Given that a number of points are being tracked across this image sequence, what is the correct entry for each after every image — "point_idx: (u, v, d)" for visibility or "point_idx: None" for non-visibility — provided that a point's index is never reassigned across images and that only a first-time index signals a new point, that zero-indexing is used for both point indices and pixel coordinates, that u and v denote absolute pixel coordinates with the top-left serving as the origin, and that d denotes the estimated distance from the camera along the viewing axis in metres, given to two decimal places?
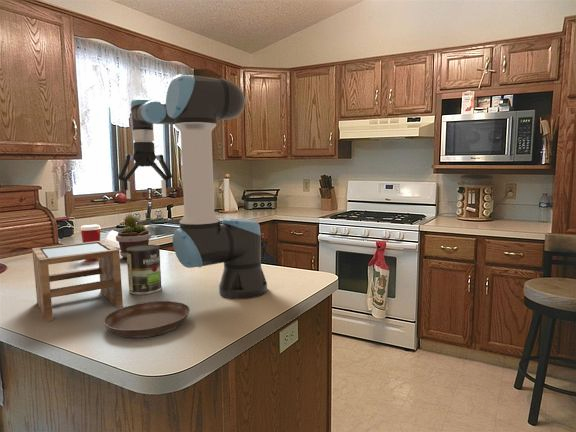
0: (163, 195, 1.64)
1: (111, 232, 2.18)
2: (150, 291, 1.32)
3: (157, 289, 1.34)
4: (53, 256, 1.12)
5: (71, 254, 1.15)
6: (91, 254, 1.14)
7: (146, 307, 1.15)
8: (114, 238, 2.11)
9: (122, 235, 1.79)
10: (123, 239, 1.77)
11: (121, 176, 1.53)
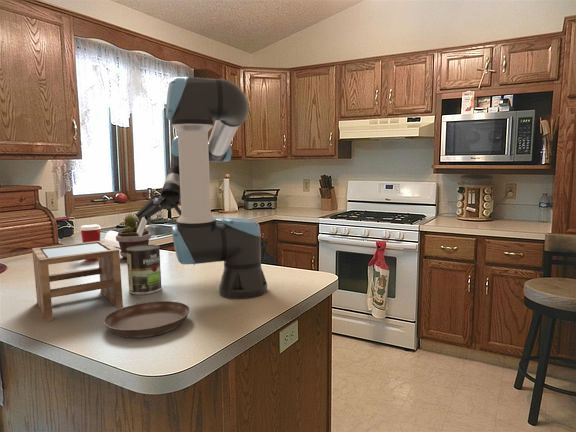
0: None
1: (110, 232, 2.17)
2: (150, 291, 1.32)
3: (157, 289, 1.34)
4: (53, 256, 1.12)
5: (71, 254, 1.15)
6: (91, 254, 1.14)
7: (146, 307, 1.15)
8: (114, 238, 2.11)
9: (122, 235, 1.79)
10: (123, 239, 1.77)
11: (138, 213, 1.50)
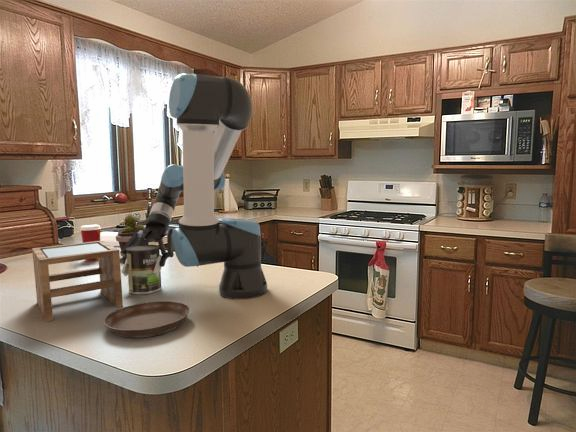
0: None
1: (104, 233, 2.14)
2: (150, 291, 1.32)
3: (157, 289, 1.34)
4: (53, 256, 1.12)
5: (71, 254, 1.15)
6: (91, 254, 1.14)
7: (146, 307, 1.15)
8: None
9: (122, 235, 1.79)
10: (123, 239, 1.77)
11: (124, 249, 1.38)
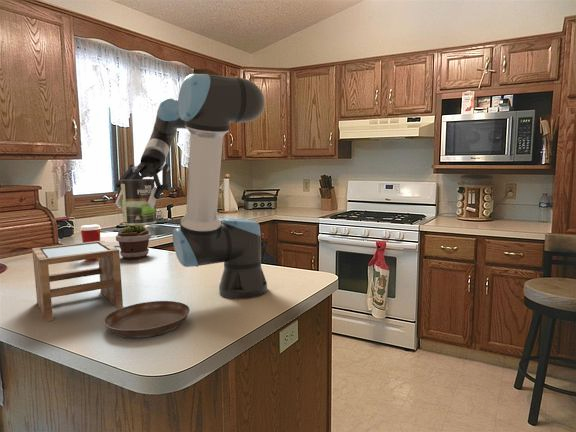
0: None
1: (102, 234, 2.11)
2: (144, 223, 1.29)
3: (152, 221, 1.31)
4: (53, 256, 1.12)
5: (71, 254, 1.15)
6: (91, 254, 1.14)
7: (146, 307, 1.15)
8: None
9: (122, 235, 1.79)
10: (123, 239, 1.77)
11: (118, 183, 1.35)
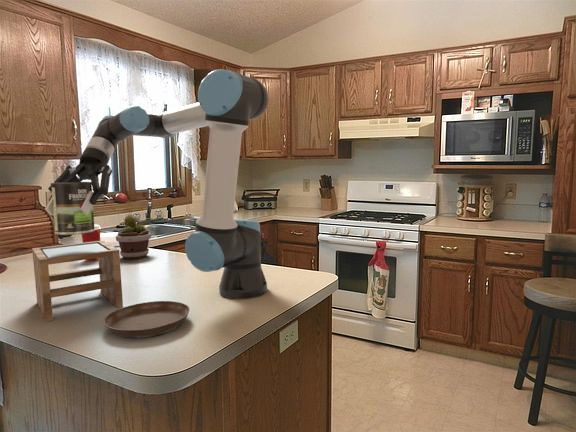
0: None
1: (102, 235, 2.09)
2: (78, 231, 1.14)
3: (87, 230, 1.16)
4: (53, 256, 1.12)
5: (71, 254, 1.15)
6: (91, 254, 1.14)
7: (146, 307, 1.15)
8: None
9: (122, 235, 1.79)
10: (123, 239, 1.77)
11: None
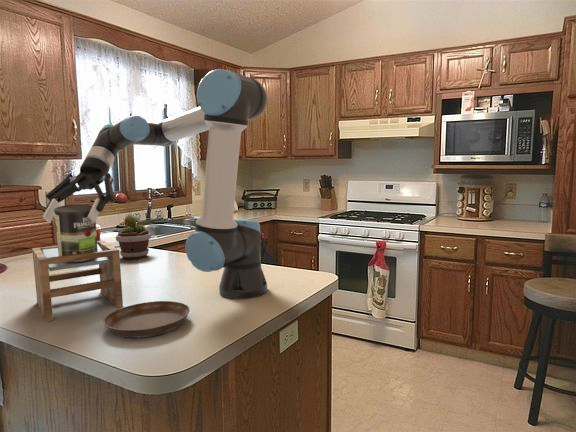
0: None
1: (104, 236, 2.07)
2: None
3: None
4: (54, 265, 1.13)
5: (72, 263, 1.15)
6: (91, 254, 1.14)
7: (146, 307, 1.15)
8: None
9: (122, 235, 1.79)
10: (123, 239, 1.77)
11: (49, 193, 1.21)
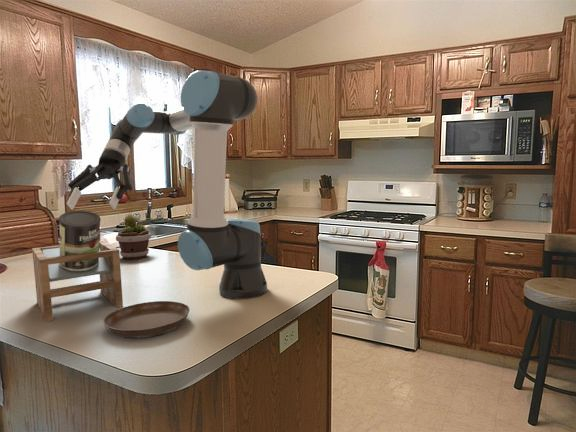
0: None
1: (108, 236, 2.06)
2: (85, 268, 1.17)
3: (93, 265, 1.19)
4: (54, 275, 1.14)
5: (72, 273, 1.16)
6: (91, 254, 1.14)
7: (146, 307, 1.15)
8: None
9: (122, 235, 1.79)
10: (123, 239, 1.77)
11: (71, 183, 1.30)
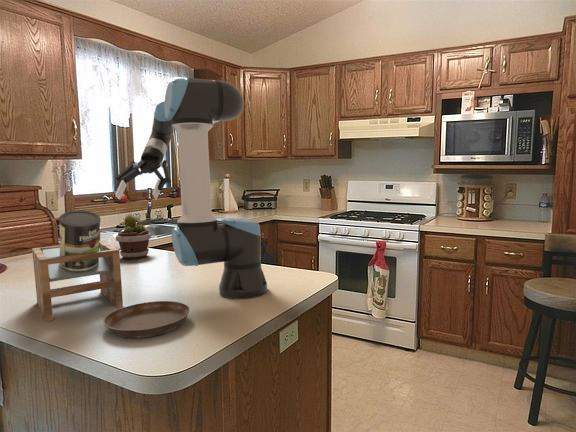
0: None
1: None
2: (85, 268, 1.17)
3: (93, 265, 1.19)
4: (54, 275, 1.14)
5: (72, 273, 1.16)
6: (91, 254, 1.14)
7: (146, 307, 1.15)
8: None
9: (122, 235, 1.79)
10: (123, 239, 1.77)
11: (118, 176, 1.49)
